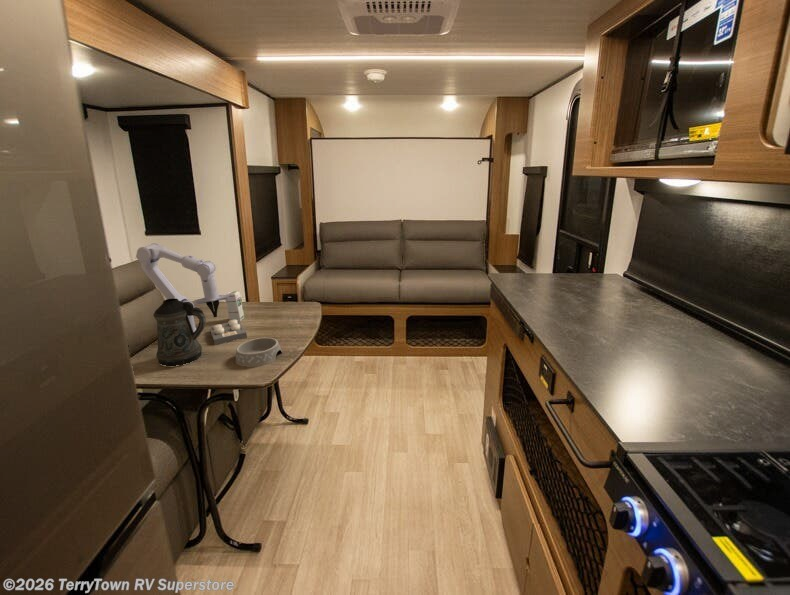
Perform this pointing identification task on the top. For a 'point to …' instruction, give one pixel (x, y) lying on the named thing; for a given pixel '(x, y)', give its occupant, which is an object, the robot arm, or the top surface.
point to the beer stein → (178, 332)
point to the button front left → (219, 330)
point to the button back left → (217, 326)
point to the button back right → (232, 322)
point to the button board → (228, 334)
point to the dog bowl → (257, 352)
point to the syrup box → (235, 306)
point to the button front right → (235, 327)
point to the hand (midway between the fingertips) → (215, 316)
